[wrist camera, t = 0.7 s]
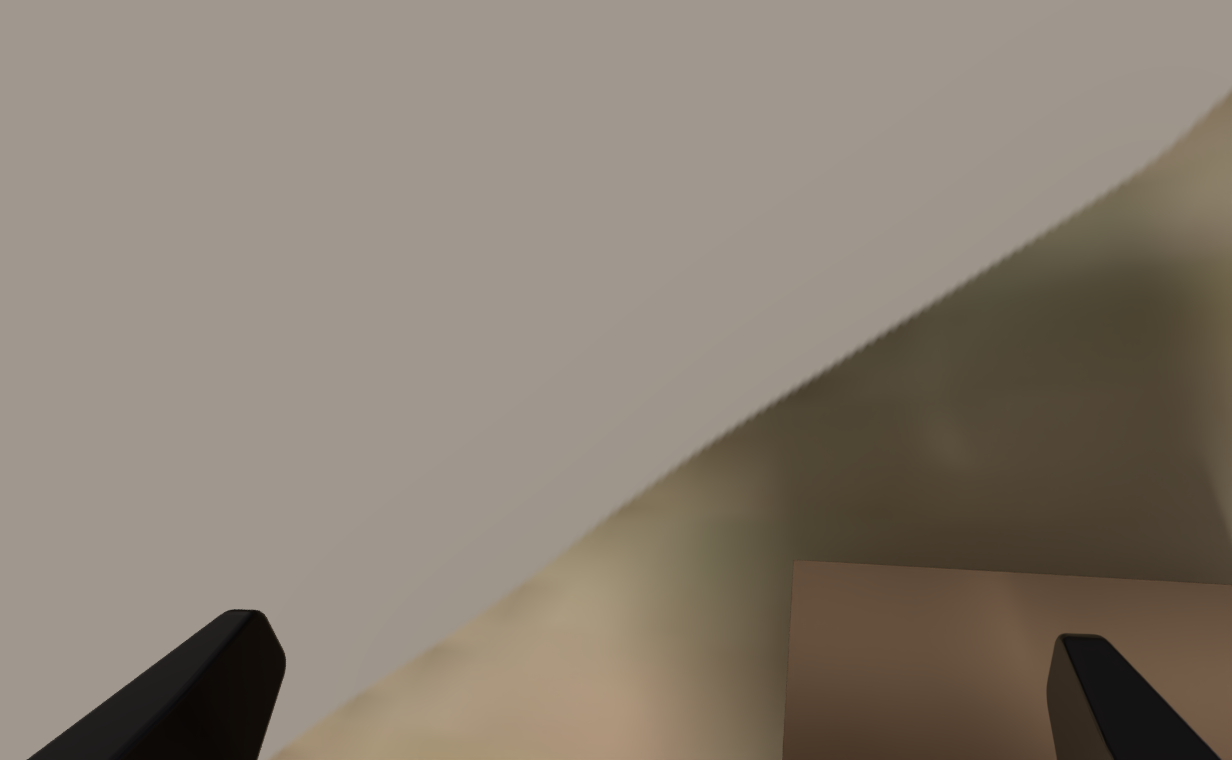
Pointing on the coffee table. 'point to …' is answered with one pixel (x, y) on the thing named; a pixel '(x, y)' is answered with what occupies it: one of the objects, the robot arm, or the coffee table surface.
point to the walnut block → (983, 657)
